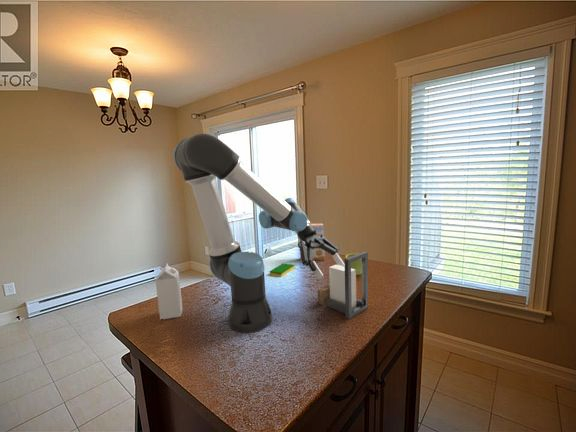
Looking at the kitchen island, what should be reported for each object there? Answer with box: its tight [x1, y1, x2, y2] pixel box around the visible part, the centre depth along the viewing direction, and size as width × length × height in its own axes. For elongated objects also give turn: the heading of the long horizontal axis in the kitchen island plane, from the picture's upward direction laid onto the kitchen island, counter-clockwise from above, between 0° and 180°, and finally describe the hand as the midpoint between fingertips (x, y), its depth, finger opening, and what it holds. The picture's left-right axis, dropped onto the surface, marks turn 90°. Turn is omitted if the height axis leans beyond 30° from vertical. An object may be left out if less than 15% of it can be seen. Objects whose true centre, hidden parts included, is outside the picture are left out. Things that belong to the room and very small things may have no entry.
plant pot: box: [345, 253, 362, 276], centre depth 138 cm, size 9×9×9 cm
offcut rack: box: [326, 251, 369, 320], centre depth 102 cm, size 12×12×21 cm
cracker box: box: [299, 223, 326, 262], centre depth 163 cm, size 14×6×21 cm, turn 84°
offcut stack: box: [317, 283, 330, 306], centre depth 110 cm, size 8×3×6 cm, turn 131°
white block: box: [328, 264, 357, 309], centre depth 104 cm, size 4×9×15 cm, turn 41°
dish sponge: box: [268, 263, 295, 278], centre depth 146 cm, size 7×14×2 cm, turn 150°
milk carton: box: [154, 262, 184, 321], centre depth 104 cm, size 7×7×19 cm
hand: (332, 272), depth 109 cm, fingers open, 13 cm apart
